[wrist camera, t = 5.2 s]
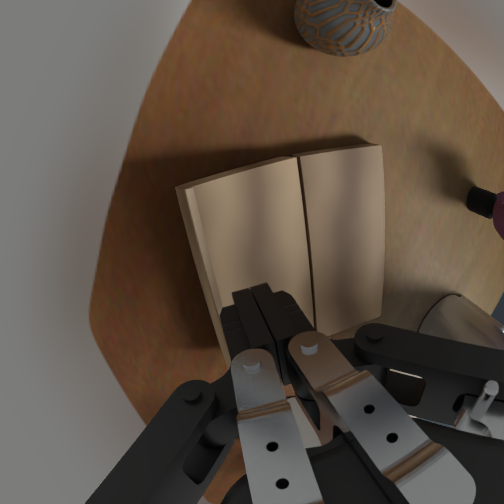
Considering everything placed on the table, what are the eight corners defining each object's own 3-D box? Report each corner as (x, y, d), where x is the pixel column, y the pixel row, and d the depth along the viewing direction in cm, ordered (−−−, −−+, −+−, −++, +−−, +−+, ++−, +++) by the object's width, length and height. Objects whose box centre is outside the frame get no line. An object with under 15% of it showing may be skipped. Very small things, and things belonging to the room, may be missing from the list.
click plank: (281, 156, 23) (298, 157, 22) (303, 332, 31) (316, 341, 29) (174, 186, 19) (185, 189, 18) (230, 376, 27) (241, 389, 25)
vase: (265, 13, 18) (309, -33, 11) (324, -16, 18) (380, -54, 10) (317, 76, 21) (380, 59, 14) (369, 42, 21) (437, 25, 13)
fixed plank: (370, 143, 25) (381, 145, 23) (372, 307, 32) (380, 316, 31) (291, 154, 24) (300, 156, 22) (311, 329, 31) (317, 339, 30)
